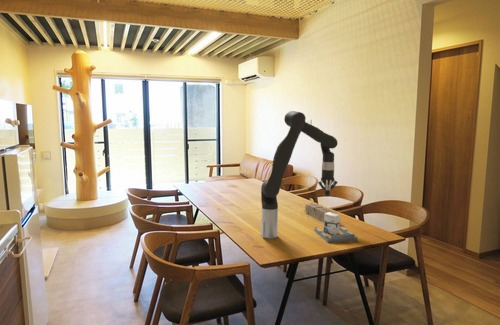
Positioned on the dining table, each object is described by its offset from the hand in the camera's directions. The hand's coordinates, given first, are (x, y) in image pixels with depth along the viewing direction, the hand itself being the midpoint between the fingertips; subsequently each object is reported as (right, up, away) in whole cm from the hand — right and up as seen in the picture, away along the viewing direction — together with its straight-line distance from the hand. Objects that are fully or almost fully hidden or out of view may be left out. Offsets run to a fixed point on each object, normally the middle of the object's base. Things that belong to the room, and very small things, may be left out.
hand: (327, 195), depth 212 cm
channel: (+2, -22, -13) cm, 26 cm away
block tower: (0, -18, +24) cm, 30 cm away
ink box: (+1, -22, -7) cm, 23 cm away
